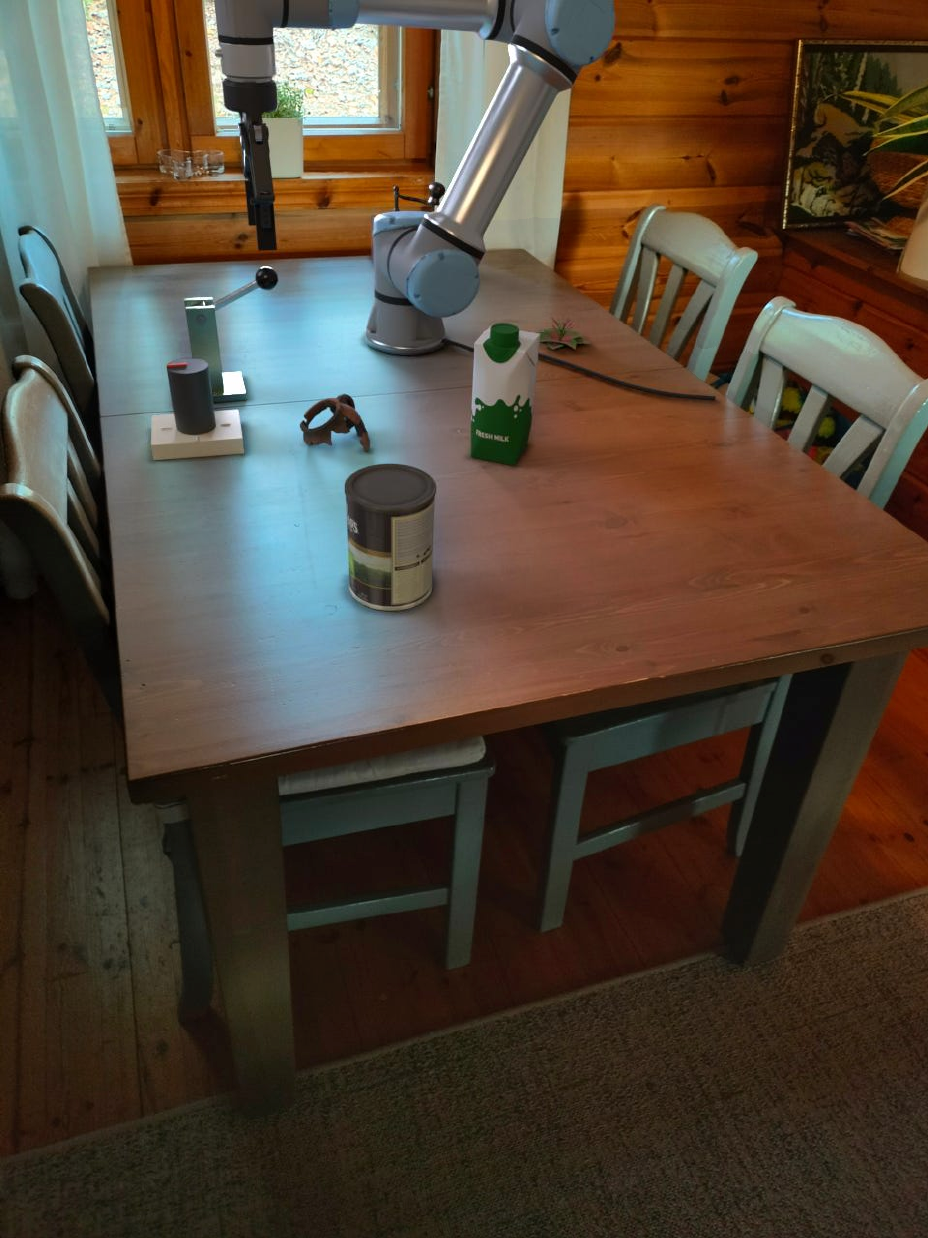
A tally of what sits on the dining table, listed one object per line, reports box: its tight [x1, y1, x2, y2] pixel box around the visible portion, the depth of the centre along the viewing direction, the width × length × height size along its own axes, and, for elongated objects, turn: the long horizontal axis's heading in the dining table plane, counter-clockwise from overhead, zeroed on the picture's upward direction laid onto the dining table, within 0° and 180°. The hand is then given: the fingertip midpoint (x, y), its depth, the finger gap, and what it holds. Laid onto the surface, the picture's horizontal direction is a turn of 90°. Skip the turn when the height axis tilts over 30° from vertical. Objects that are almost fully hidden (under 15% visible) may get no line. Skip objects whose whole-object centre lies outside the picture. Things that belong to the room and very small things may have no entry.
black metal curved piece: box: [370, 181, 446, 262], centre depth 208 cm, size 16×11×18 cm
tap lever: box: [194, 266, 279, 312], centre depth 145 cm, size 15×4×4 cm, turn 105°
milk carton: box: [470, 322, 540, 467], centre depth 134 cm, size 9×9×20 cm
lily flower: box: [534, 315, 592, 351], centre depth 176 cm, size 12×12×5 cm
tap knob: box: [166, 357, 216, 435], centre depth 134 cm, size 6×6×10 cm
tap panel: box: [150, 409, 245, 461], centre depth 137 cm, size 13×10×3 cm
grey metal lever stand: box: [183, 296, 248, 403], centre depth 148 cm, size 11×9×15 cm
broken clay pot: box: [299, 393, 371, 453], centre depth 139 cm, size 12×9×8 cm
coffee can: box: [344, 463, 437, 612], centre depth 106 cm, size 10×10×14 cm
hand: (262, 236), depth 140 cm, fingers open, 13 cm apart
